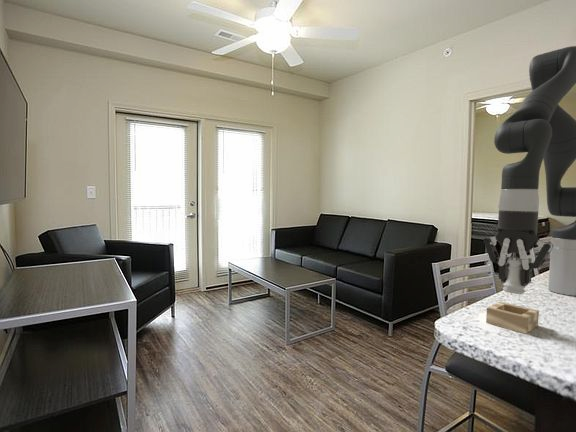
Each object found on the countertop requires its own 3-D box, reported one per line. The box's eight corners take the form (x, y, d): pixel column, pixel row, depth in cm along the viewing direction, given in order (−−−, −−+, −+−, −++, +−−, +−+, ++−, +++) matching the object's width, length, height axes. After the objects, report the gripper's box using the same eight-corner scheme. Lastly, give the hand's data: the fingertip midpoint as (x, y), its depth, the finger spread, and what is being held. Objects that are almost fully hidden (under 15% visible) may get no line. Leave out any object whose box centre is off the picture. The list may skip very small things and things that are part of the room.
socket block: (499, 315, 84) (500, 301, 84) (538, 325, 78) (538, 310, 77) (486, 322, 79) (486, 307, 79) (525, 333, 73) (526, 317, 73)
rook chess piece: (529, 295, 75) (531, 259, 75) (507, 293, 76) (509, 258, 76) (519, 289, 80) (521, 256, 79) (499, 288, 80) (500, 255, 80)
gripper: (561, 210, 74) (556, 287, 75) (491, 208, 85) (487, 275, 86) (551, 210, 69) (546, 293, 70) (478, 208, 80) (474, 279, 81)
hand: (514, 283), depth 78 cm, fingers closed on rook chess piece, 3 cm apart
